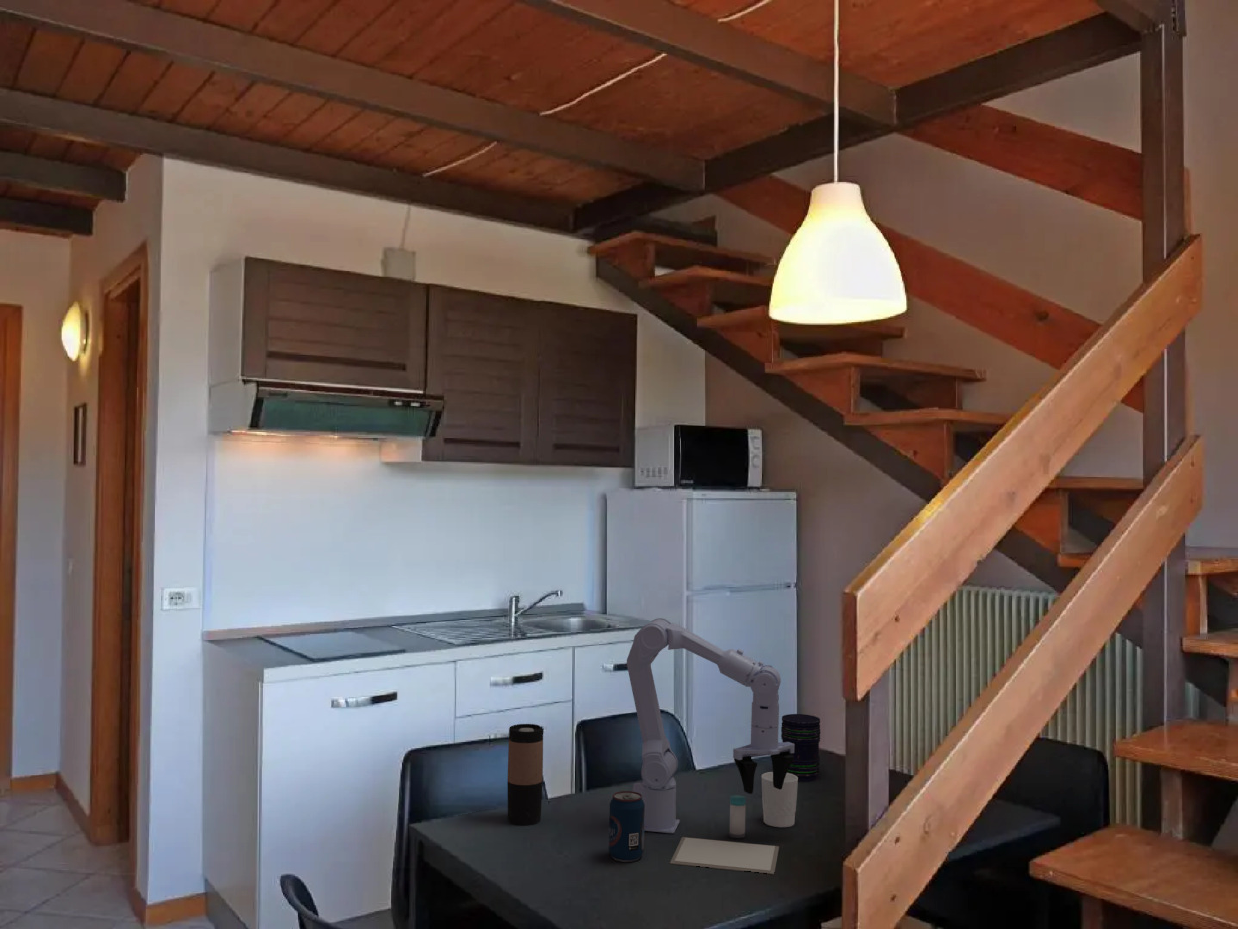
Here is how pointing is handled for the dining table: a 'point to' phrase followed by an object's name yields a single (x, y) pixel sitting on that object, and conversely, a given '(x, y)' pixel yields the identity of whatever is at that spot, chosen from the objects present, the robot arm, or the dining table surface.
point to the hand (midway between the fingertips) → (763, 790)
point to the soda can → (626, 826)
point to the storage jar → (803, 745)
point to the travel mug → (525, 774)
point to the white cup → (779, 800)
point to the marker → (737, 816)
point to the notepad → (726, 855)
